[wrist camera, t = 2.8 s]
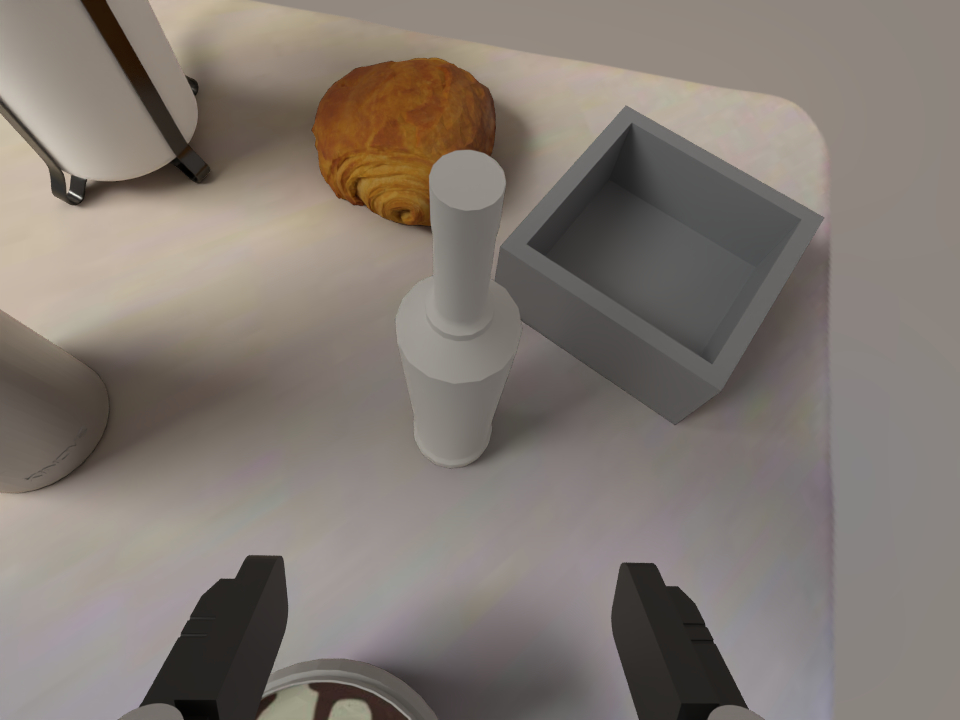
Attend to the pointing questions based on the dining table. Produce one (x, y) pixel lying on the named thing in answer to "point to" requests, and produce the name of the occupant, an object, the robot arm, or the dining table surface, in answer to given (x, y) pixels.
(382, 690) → the food container
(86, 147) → the coffee press
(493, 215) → the bottle
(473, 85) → the croissant
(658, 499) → the dining table surface
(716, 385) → the charcoal tub
